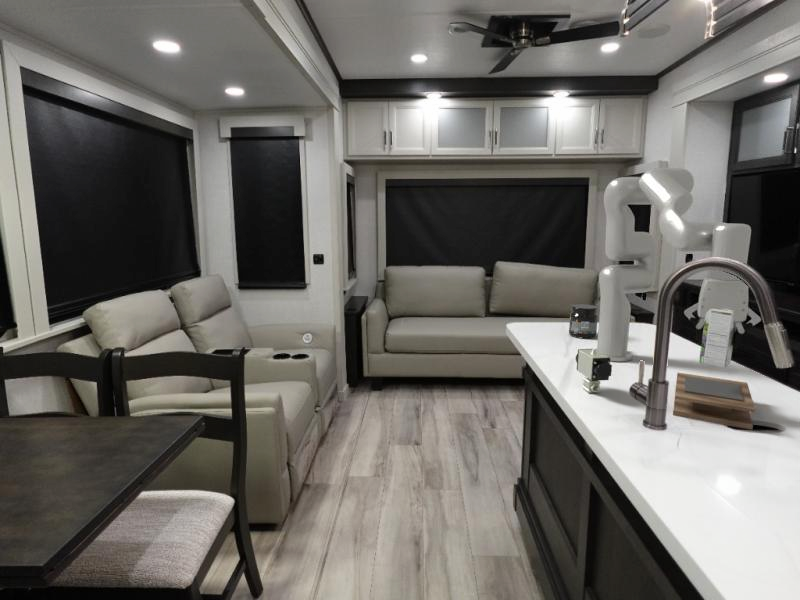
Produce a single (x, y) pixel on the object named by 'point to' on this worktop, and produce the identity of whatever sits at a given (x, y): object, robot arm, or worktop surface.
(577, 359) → the pneumatic valve
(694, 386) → the walnut stand
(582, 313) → the supplement container
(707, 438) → the worktop surface
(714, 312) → the syrup box
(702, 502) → the worktop surface
